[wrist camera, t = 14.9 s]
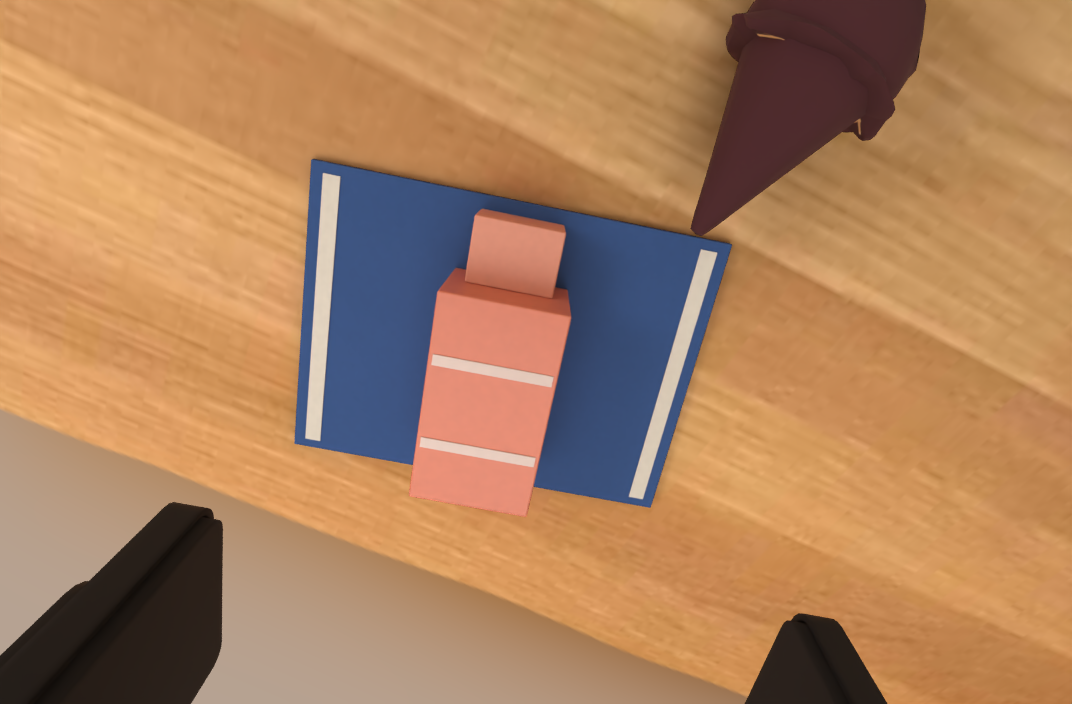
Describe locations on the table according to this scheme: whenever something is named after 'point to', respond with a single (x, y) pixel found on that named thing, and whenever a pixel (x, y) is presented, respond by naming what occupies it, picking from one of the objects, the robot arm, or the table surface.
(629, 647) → the table surface
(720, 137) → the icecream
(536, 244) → the red rectangular block
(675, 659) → the table surface
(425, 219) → the cloth
